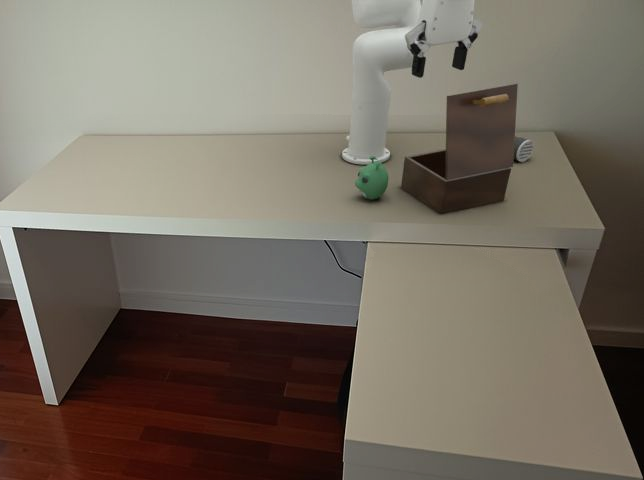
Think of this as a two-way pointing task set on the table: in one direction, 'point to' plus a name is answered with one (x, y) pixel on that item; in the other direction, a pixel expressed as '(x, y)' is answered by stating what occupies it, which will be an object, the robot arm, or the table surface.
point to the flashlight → (522, 148)
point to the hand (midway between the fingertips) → (437, 72)
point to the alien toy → (372, 180)
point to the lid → (480, 131)
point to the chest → (450, 184)
